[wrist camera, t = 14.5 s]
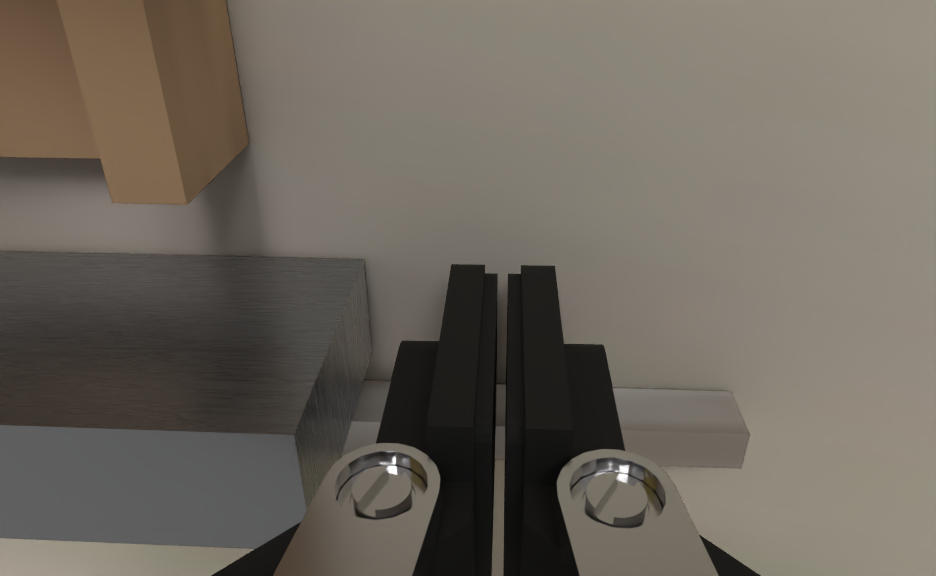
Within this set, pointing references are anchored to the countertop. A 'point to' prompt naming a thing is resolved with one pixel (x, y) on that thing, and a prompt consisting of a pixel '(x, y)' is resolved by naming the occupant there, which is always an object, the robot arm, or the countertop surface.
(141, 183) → the bay
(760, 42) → the countertop surface
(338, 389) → the grey rectangular block
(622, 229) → the countertop surface
